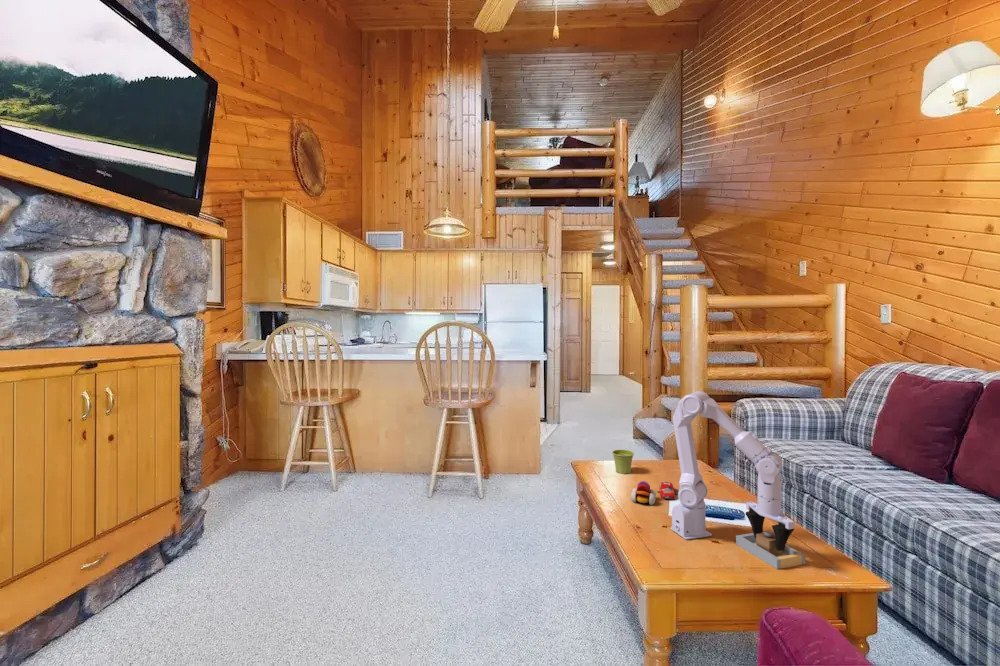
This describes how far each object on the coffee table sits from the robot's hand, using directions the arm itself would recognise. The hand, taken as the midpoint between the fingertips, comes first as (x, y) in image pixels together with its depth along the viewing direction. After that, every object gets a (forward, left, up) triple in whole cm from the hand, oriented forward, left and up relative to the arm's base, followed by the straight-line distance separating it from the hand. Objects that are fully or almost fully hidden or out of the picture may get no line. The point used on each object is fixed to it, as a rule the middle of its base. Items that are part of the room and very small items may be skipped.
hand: (768, 543), depth 128 cm
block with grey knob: (0, 0, -2) cm, 2 cm away
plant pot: (-3, +75, -3) cm, 75 cm away
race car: (0, +47, -3) cm, 47 cm away
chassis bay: (0, 0, -3) cm, 3 cm away
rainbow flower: (-13, +43, -3) cm, 45 cm away
